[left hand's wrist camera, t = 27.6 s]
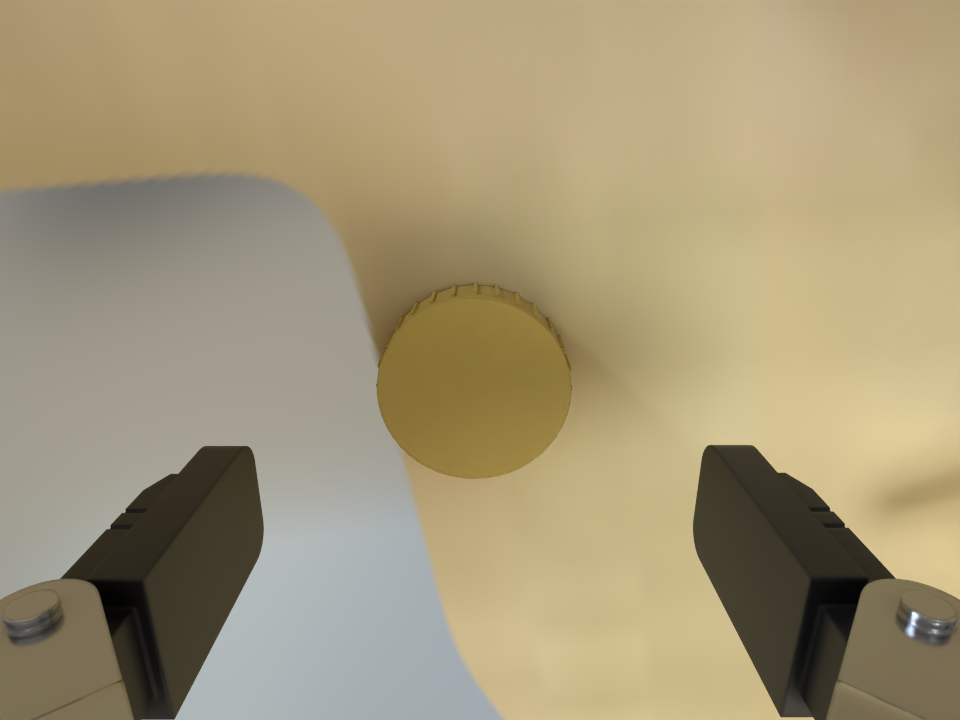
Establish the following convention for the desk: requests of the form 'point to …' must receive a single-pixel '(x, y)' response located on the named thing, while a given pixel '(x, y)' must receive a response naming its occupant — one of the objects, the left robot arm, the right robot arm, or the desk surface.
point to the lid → (474, 382)
